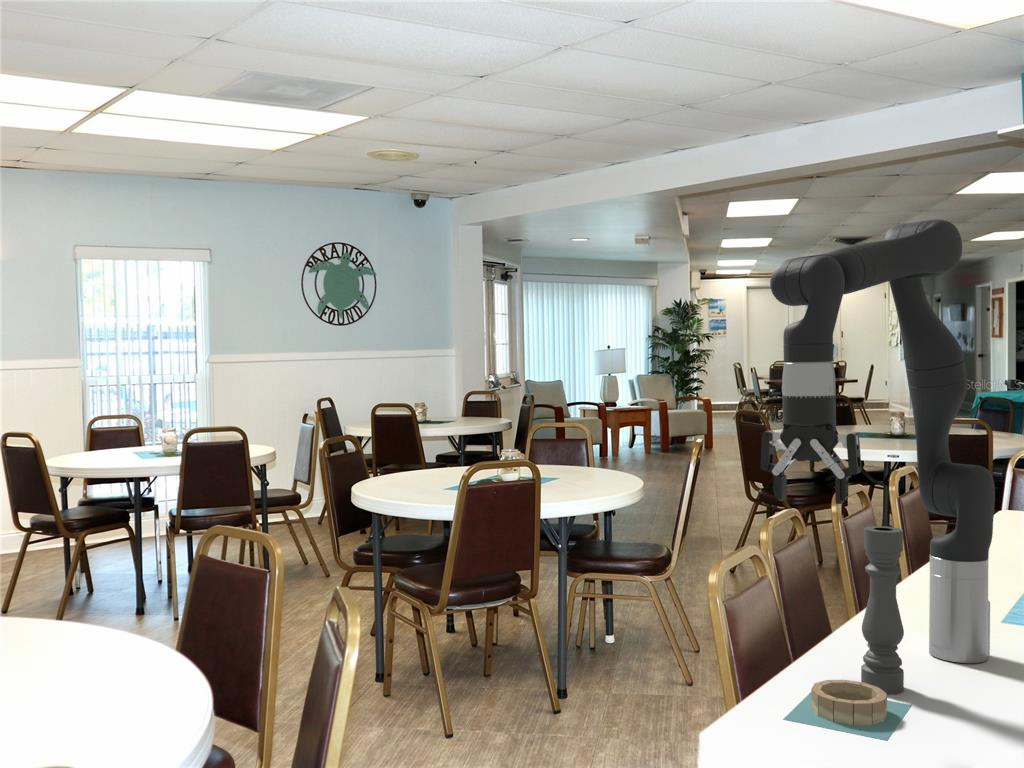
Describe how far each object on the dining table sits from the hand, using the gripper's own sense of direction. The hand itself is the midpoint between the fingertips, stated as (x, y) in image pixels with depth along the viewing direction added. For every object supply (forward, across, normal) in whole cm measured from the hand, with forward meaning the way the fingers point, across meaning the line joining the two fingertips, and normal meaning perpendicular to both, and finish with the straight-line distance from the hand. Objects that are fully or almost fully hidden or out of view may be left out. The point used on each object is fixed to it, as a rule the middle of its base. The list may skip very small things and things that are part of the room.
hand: (810, 501), depth 143 cm
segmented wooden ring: (+30, -6, +3) cm, 30 cm away
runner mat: (+30, -6, +3) cm, 31 cm away
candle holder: (+31, -7, -11) cm, 33 cm away
